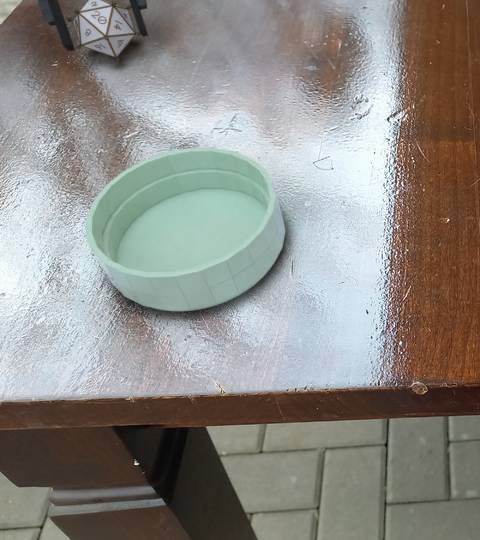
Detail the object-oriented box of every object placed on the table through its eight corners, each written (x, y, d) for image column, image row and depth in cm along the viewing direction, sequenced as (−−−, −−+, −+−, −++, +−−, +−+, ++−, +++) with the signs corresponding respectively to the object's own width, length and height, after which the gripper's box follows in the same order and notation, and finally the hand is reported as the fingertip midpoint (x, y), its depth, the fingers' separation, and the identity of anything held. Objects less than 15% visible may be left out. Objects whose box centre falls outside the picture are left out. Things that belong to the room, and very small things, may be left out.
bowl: (86, 317, 68) (59, 279, 63) (135, 189, 80) (115, 149, 75) (274, 312, 69) (260, 273, 64) (295, 185, 80) (285, 145, 76)
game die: (140, 72, 100) (163, 25, 94) (83, 81, 94) (104, 30, 87) (103, 23, 100) (124, -28, 94) (45, 28, 94) (63, -26, 87)
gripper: (141, -132, 96) (193, 32, 98) (-33, -109, 90) (28, 64, 93) (130, -161, 88) (187, 16, 91) (-59, -139, 83) (8, 50, 86)
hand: (107, 40), depth 92 cm, fingers closed on game die, 9 cm apart
